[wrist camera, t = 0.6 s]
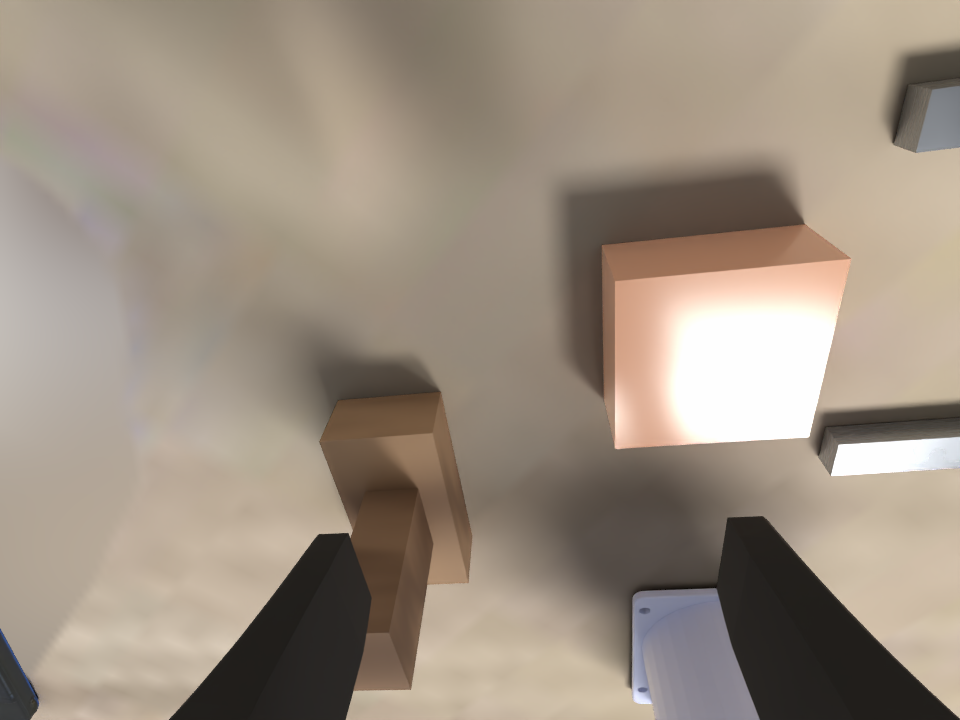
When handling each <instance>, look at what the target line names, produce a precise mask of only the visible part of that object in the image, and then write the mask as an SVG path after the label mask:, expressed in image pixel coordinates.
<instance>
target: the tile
mask: <svg viewBox="0 0 960 720" xmlns="http://www.w3.org/2000/svg"><path fill="white" fill-rule="evenodd" d="M850 262H851V258H850V257H848V256H847V255H846V254H844V253H843V252H842V251H840V250H839V249H838V248H836V247H835V246H833V245H832V244H831V243H829V242H828V241H827V240H825V239H824V238H823V237H821V236H820V235H819V234H817V233H816V232H815V231H813V230H812V229H811V228H809V227H808V226H807V225H805V224H803V225H793V226H784V227H774V228H764V229H754V230H744V231H735V232H725V233H715V234H705V235H695V236H686V237H676V238H666V239H656V240H647V241H637V242H627V243H617V244H607V245H602V302H603V373H604V402H605V407H606V411H607V416H608V420H609V424H610V429H611V433H612V438H613V442H614V446H615V449H622V448H639V447H655V446H671V445H688V444H704V443H720V442H737V441H753V440H770V439H786V438H802V437H809V434H810V430H811V426H812V422H813V417H814V413H815V409H816V405H817V401H818V396H819V392H820V388H821V384H822V380H823V375H824V371H825V367H826V363H827V359H828V355H829V350H830V346H831V342H832V338H833V334H834V329H835V325H836V321H837V317H838V313H839V309H840V304H841V300H842V296H843V292H844V288H845V283H846V279H847V275H848V271H849V267H850Z"/></svg>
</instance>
